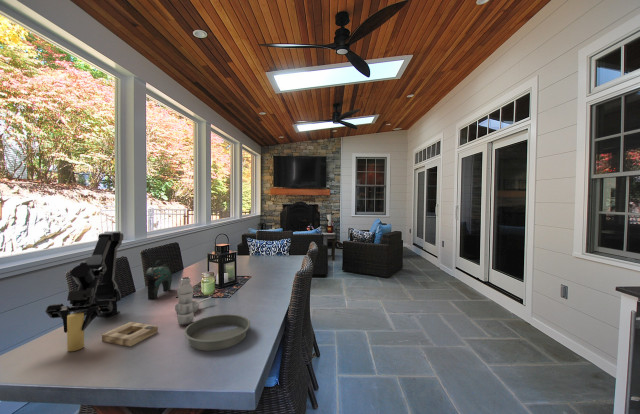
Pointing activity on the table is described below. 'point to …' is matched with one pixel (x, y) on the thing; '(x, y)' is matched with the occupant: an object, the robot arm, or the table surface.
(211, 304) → the table surface
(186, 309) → the plastic bottle
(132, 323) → the wooden slotted board
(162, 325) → the table surface
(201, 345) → the cake pan
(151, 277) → the green elephant figurine
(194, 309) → the saucepan
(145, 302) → the table surface
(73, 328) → the peg
